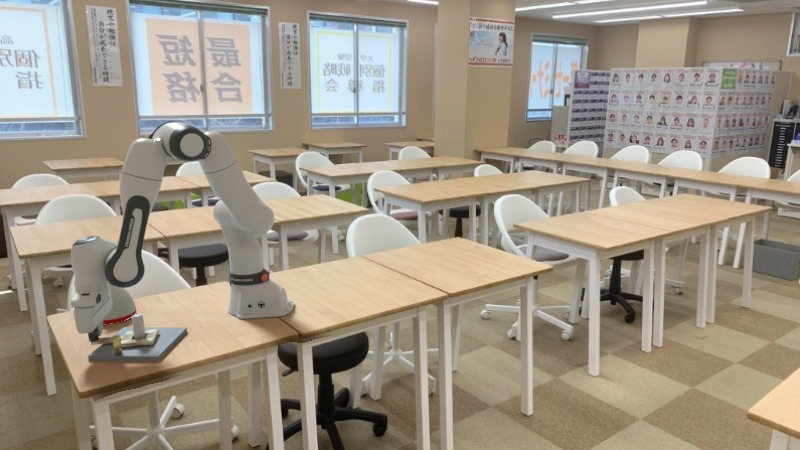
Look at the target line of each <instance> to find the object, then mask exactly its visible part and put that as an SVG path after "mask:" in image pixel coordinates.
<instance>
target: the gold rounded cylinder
mask: <svg viewBox="0 0 800 450" xmlns="http://www.w3.org/2000/svg"><path fill="white" fill-rule="evenodd" d="M113 346H114V353H115V356H119V355H122V354H123V353H122V345H121V337H120V336H116V337H113Z"/></svg>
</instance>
